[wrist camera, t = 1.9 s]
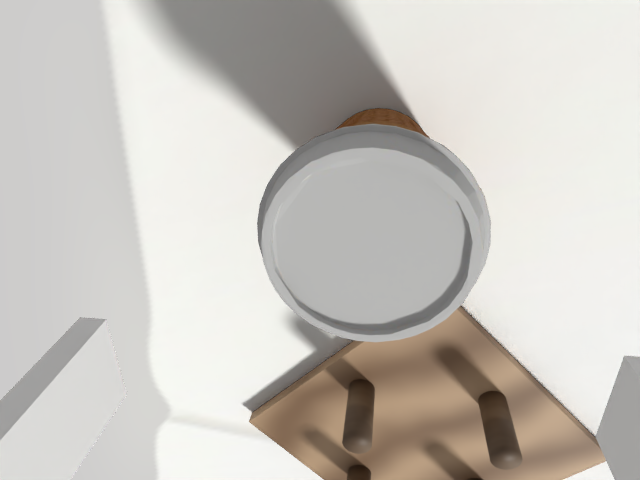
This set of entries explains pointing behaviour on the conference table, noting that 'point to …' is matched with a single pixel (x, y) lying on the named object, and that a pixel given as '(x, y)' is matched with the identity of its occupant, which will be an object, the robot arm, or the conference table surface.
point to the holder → (428, 413)
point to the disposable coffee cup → (373, 229)
